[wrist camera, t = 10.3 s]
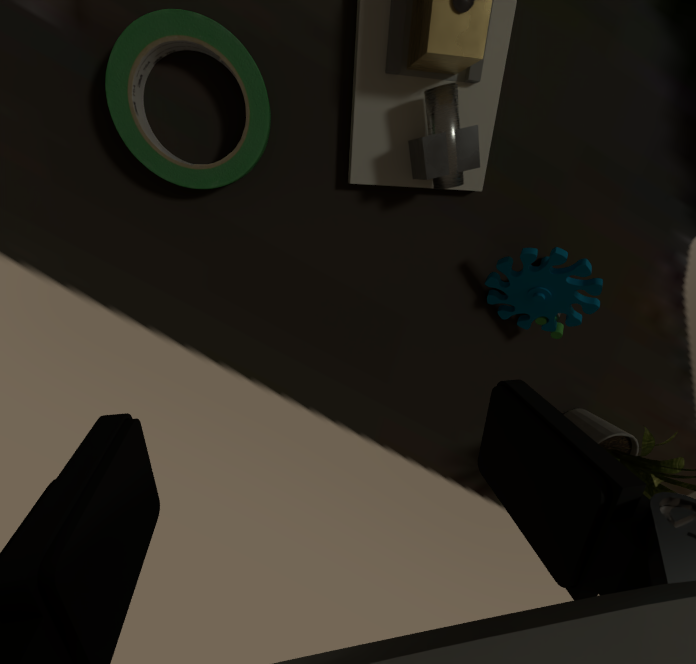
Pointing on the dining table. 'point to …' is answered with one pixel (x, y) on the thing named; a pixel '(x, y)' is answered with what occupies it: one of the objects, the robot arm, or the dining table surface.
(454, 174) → the shaft
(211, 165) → the tape roll
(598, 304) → the dark teal lobed piece
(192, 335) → the dining table surface
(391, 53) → the mounting base plate
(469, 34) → the tan box with knob
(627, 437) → the house plant
